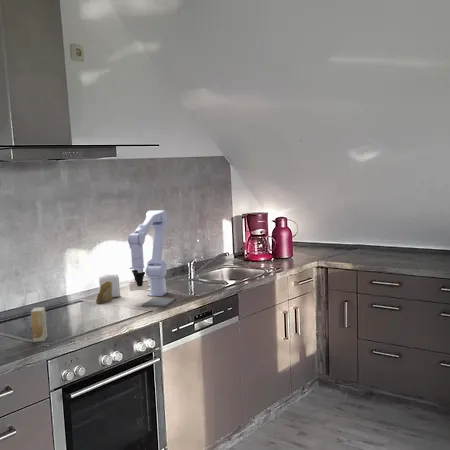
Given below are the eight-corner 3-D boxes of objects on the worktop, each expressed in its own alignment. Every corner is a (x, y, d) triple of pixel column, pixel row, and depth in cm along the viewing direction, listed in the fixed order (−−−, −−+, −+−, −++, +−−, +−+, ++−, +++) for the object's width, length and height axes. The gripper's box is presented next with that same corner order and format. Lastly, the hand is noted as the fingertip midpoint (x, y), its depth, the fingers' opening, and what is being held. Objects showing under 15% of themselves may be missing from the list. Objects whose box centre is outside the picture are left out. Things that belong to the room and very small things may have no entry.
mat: (152, 299, 285) (152, 298, 285) (175, 300, 282) (175, 298, 282) (141, 306, 271) (141, 304, 271) (165, 306, 268) (165, 305, 268)
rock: (98, 300, 278) (117, 294, 284) (92, 285, 281) (110, 280, 287) (94, 310, 286) (112, 304, 292) (88, 295, 289) (106, 289, 295)
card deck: (129, 288, 279) (128, 281, 279) (147, 287, 282) (147, 280, 281) (130, 290, 275) (129, 283, 274) (148, 289, 277) (148, 281, 277)
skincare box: (36, 337, 226) (34, 307, 225) (47, 336, 226) (45, 306, 225) (32, 342, 220) (30, 311, 219) (44, 341, 220) (41, 310, 219)
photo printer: (101, 299, 290) (99, 275, 290) (99, 298, 294) (98, 274, 293) (121, 296, 295) (119, 273, 294) (119, 295, 299) (117, 272, 298)
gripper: (127, 256, 283) (129, 283, 284) (130, 260, 269) (132, 288, 270) (141, 255, 285) (143, 281, 286) (145, 259, 271) (147, 287, 272)
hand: (139, 285), depth 278 cm, fingers closed on card deck, 5 cm apart
